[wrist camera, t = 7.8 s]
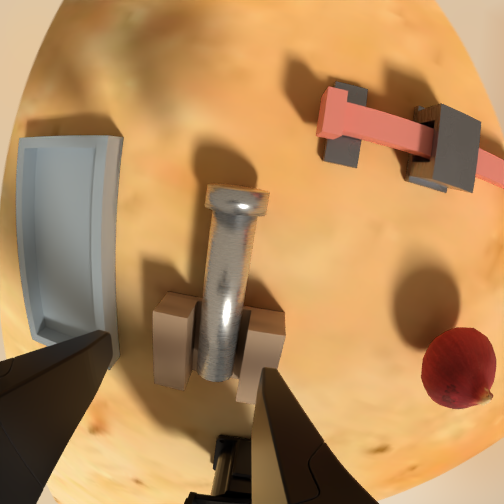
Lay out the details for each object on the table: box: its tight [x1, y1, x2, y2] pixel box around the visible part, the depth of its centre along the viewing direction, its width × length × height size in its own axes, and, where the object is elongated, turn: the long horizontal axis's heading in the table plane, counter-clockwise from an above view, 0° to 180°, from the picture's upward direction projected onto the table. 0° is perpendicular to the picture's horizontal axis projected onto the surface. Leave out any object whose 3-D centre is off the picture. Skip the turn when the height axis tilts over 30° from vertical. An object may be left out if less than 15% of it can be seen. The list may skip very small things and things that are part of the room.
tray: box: [16, 135, 124, 370], centre depth 19 cm, size 17×9×2 cm, turn 171°
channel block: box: [153, 291, 286, 404], centre depth 19 cm, size 6×8×3 cm
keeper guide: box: [323, 81, 481, 193], centre depth 15 cm, size 5×8×4 cm, turn 81°
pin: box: [197, 183, 270, 382], centre depth 18 cm, size 12×3×3 cm, turn 171°
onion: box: [421, 327, 496, 409], centre depth 16 cm, size 6×6×8 cm
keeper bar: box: [316, 86, 504, 189], centre depth 14 cm, size 2×16×2 cm, turn 81°
